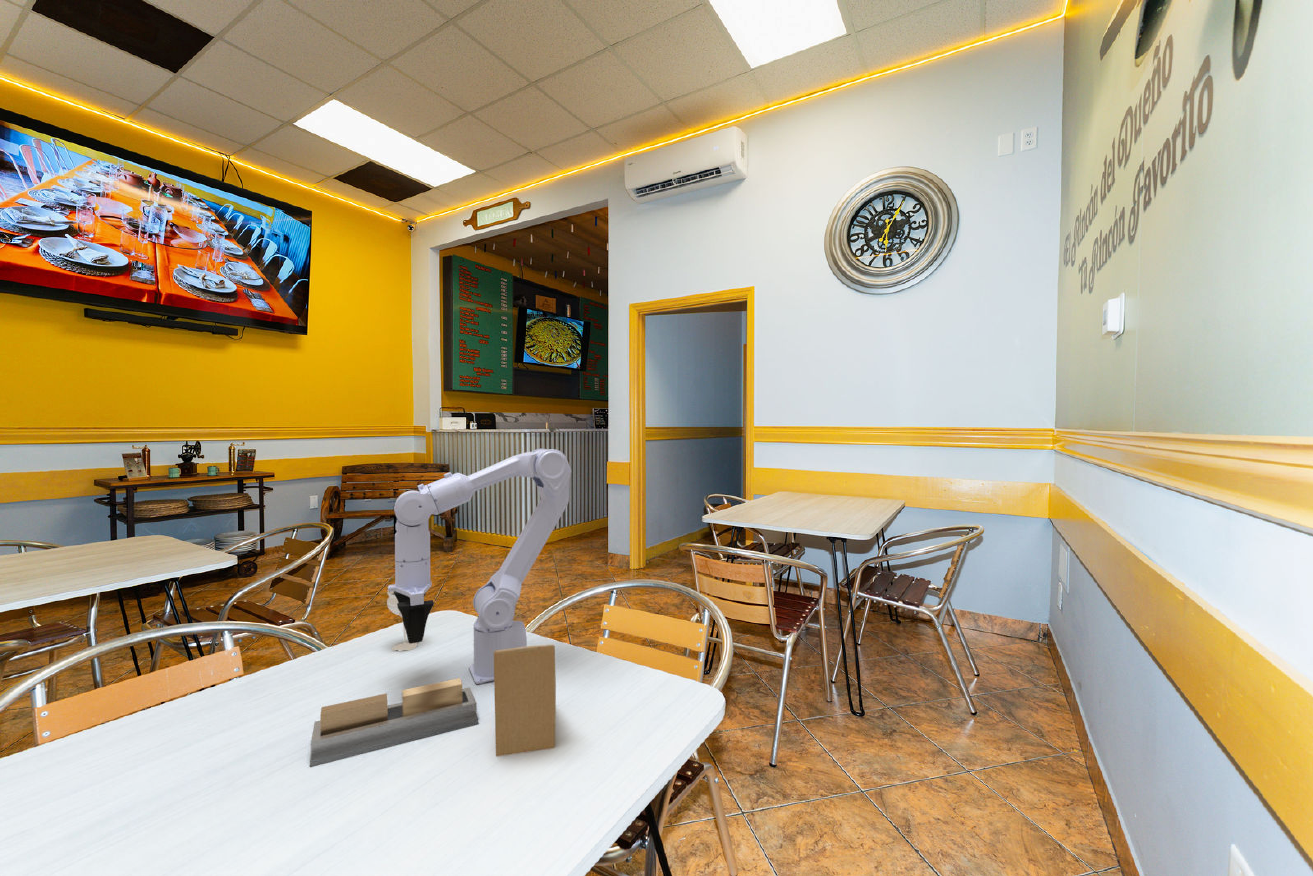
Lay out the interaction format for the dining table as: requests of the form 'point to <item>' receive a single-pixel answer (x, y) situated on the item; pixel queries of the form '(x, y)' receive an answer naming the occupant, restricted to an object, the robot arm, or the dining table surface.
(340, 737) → the track
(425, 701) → the tan rectangular block
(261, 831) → the dining table surface
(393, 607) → the wineglass
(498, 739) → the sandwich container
